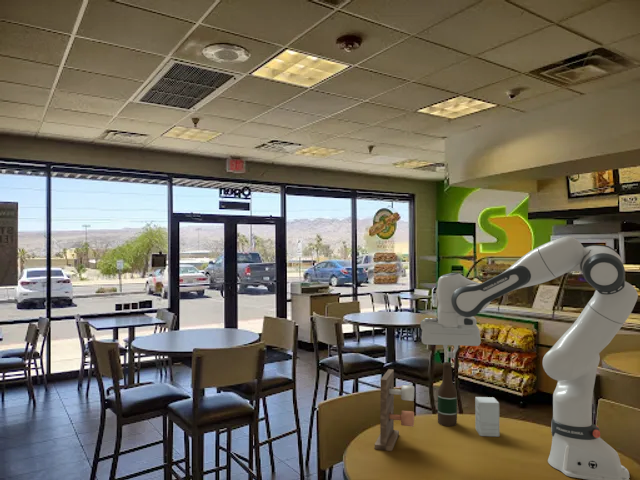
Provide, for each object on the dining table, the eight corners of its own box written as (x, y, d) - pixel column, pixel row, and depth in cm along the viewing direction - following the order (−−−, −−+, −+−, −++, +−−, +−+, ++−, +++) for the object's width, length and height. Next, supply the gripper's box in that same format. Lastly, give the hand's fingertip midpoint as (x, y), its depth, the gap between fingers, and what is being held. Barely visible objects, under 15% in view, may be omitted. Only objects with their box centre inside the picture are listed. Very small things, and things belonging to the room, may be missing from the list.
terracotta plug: (414, 423, 172) (414, 409, 172) (412, 428, 168) (412, 414, 168) (386, 420, 175) (386, 406, 176) (384, 425, 171) (384, 411, 171)
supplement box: (494, 430, 185) (494, 397, 185) (499, 437, 178) (499, 402, 178) (474, 429, 186) (474, 396, 186) (479, 436, 178) (479, 402, 179)
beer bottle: (433, 423, 192) (433, 362, 193) (443, 418, 198) (443, 359, 198) (451, 428, 187) (451, 366, 187) (460, 423, 192) (460, 362, 193)
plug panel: (398, 434, 179) (399, 369, 180) (391, 451, 164) (392, 380, 165) (382, 432, 181) (383, 368, 182) (374, 448, 166) (374, 378, 167)
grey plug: (414, 398, 173) (414, 384, 173) (412, 402, 168) (412, 388, 168) (386, 395, 176) (386, 382, 176) (384, 399, 171) (384, 385, 171)
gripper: (420, 319, 169) (421, 358, 169) (481, 320, 165) (481, 360, 165) (420, 316, 175) (420, 353, 175) (478, 317, 171) (479, 355, 171)
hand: (450, 357), depth 170 cm, fingers closed
